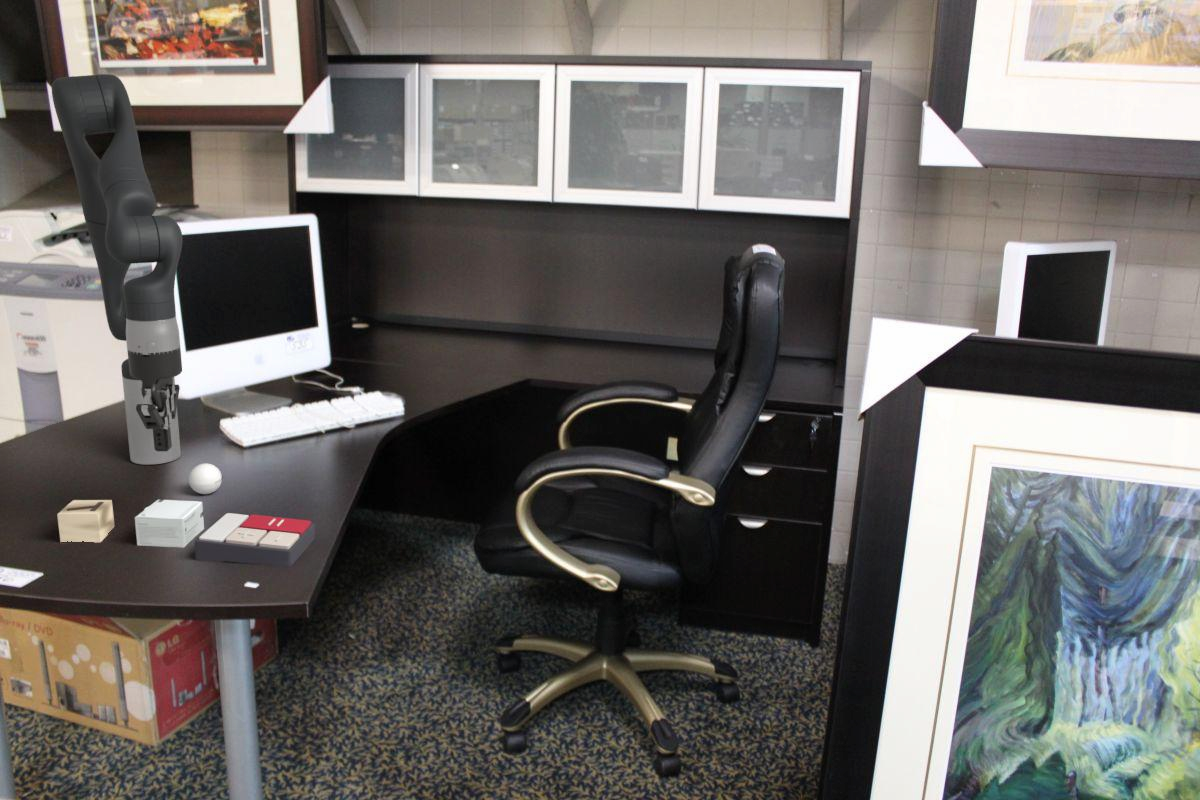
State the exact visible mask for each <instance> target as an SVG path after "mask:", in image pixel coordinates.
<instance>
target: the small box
mask: <svg viewBox="0 0 1200 800" xmlns="http://www.w3.org/2000/svg"><path fill="white" fill-rule="evenodd" d="M204 522H205V521H204V507H203V501H200V500H199V501H197V500H196V501H195V500H177V499H176V500H175V499H157V500H155V501H154V502H153V503H151V504H149V506H146V507H145V508H143V511H141V512H140V513H138V515H136V516H134V526H135V535H136V536H135V537H136V546H139V547H140V546H142V547H145V546H146V547H159V548H160V547H161V548H162V547H163V548H185V547H186V546H187V545H188V544H189V543H190V542H191V541H192V540H193V539H195V538H197V537H196V536H198V535H199V534H200V533H201V532H202V531H204V530H205V523H204Z"/></svg>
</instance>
